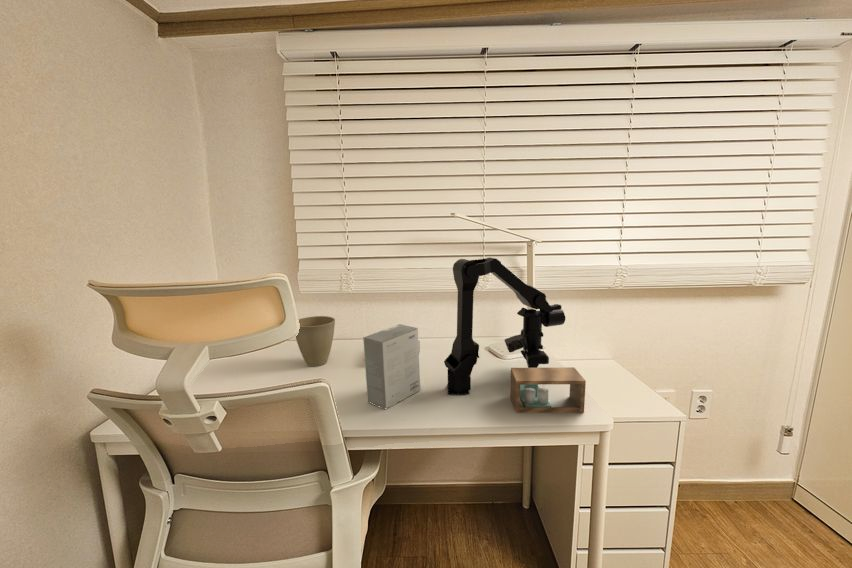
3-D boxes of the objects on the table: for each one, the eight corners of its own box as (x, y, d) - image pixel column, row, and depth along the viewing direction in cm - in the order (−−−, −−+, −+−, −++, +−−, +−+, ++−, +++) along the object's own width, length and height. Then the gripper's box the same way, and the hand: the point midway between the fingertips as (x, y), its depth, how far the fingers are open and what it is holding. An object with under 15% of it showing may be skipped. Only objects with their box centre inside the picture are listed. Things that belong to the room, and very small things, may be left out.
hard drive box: (402, 384, 124) (400, 323, 120) (421, 390, 119) (419, 327, 115) (366, 402, 112) (362, 336, 109) (384, 410, 107) (381, 341, 104)
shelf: (515, 412, 105) (516, 381, 103) (510, 396, 114) (510, 367, 112) (584, 412, 104) (585, 380, 102) (572, 396, 113) (574, 367, 111)
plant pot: (341, 365, 140) (339, 322, 137) (298, 373, 134) (295, 329, 131) (332, 353, 153) (330, 313, 150) (293, 359, 147) (289, 318, 144)
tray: (511, 381, 125) (511, 366, 124) (533, 381, 125) (533, 366, 124) (525, 409, 107) (526, 392, 106) (551, 408, 107) (551, 391, 106)
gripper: (502, 320, 133) (501, 363, 136) (511, 337, 115) (511, 387, 117) (535, 320, 133) (534, 363, 135) (550, 337, 114) (548, 387, 117)
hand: (531, 374), depth 126 cm, fingers closed
